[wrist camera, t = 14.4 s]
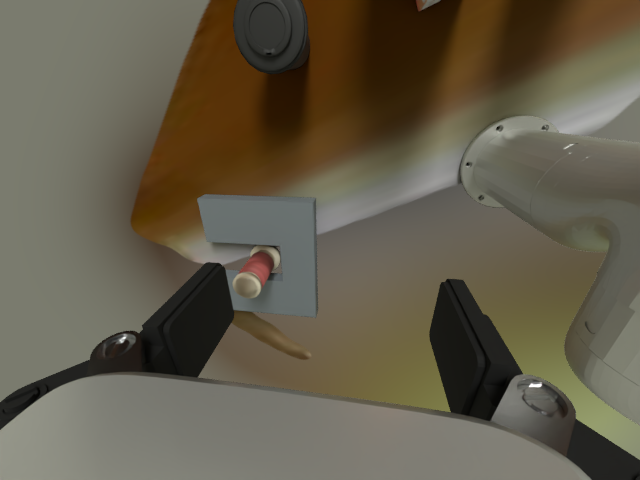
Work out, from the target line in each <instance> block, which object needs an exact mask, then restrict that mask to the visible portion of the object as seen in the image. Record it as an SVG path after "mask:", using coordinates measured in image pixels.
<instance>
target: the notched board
mask: <svg viewBox="0 0 640 480" xmlns="http://www.w3.org/2000/svg"><path fill="white" fill-rule="evenodd" d="M197 200H198V204H199V209H200V213H201V218H202V222H203V226H204V231H205V235H206V240H207V242H221V243H238V244H255V245H273V246H280V255H281V266H282V274H277V273H271V274H270V275H269V277H268V279H267V281H266V282H265V284H264V286H263V288H262V289H261V291H260V293H259V295H258V296H257V297H255V298H244V297H242V296H240V295H238V294H237V293H236V292H235V290H234V288H233V280H234V278H235V277H236V276H237V275H238V273H239V272H240V271H236V270H226V275H227V280H228V285H229V290H230V295H231V300H232V305H233V310H240V311H251V312H261V313H272V314H283V315H294V316H305V317H315V318H316V316H317V311H318V293H317V292H318V288H317V241H316V198H302V197H271V196H239V195H208V194H205V195H203V196H201V197H199V198H197Z"/></svg>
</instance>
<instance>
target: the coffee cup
mask: <svg viewBox="0 0 640 480" xmlns="http://www.w3.org/2000/svg"><path fill="white" fill-rule="evenodd" d="M233 27H234V34H235V40H236V43H237V45H238V47H239V50H240V52H241V54H242V55H243V57H244V58H245V59H246V61H247V62H248V63H249V64H250V65H251V66H253V67H254V68H255V69H257V70H258V71H261V72H264V73H267V74H278V73H282V72H284V71H286V70H292V69H297V68H299V67H301V66H302V65H303V64H304V63H305V62H306V60H307V58H308V56H309V51H310V40H309V37H308V25H307V15H306V12H305V9H304V6H303V3H302V1H301V0H238V2H237V5H236V8H235V11H234V23H233Z"/></svg>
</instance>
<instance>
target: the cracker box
mask: <svg viewBox="0 0 640 480" xmlns="http://www.w3.org/2000/svg"><path fill="white" fill-rule="evenodd" d="M439 1H441V0H416V4H417V8H418V11H421V10H423V9H425V8H427V7H429V6H431V5H433V4H435V3H437V2H439Z"/></svg>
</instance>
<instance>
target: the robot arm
mask: <svg viewBox="0 0 640 480" xmlns="http://www.w3.org/2000/svg"><path fill="white" fill-rule="evenodd" d="M497 126H498V129H497V130H496V128H497ZM542 127H543V129H542V130H541V128H542ZM467 162H469V164H468V165H466V163H467ZM460 176H461V182H462V185H463V187H464V189H465V191H466V192H467V193H468V195H469V196H470V197H472V198H473V199H474V200H475V201H477V202H478V203H480V204H483V205H485V206H489V207H493V208H507V209H508V210H510V211H511V212H513V213H514V214H516V215H517V216H518V217H520V218H521V219H522V220H524V221H525V222H527V223H528V224H530V225H531V226H533V227H534V228H535V229H537V230H538V231H540V232H541V233H543V234H544V235H546V236H547V237H549V238H551V239H552V240H553V241H555V242H557V243H559V244H561V245H563V246H566V247H568V248H572V249H576V250H582V251H589V252H607V254H606V256H605V258H604V260H603V262H602V264H601V266H600V268H599V270H598V272H597V277H596V279H595V281H594V282H593V284H592V286H591V288H590V290H589V292H588V294H587V295H586V297H585V299H584V301H583V303H582V305H581V307H580V308H579V310H578V312H577V314H576V316H575V317H574V319H573V321H572V323H571V325H570V327H569V330H568V332H567V335H566V339H565V345H564V348H565V355H566V359H567V361H568V363H569V366H570V367H571V369H572V371H573V372H574V374H575V375H576V376H577V377H578V379H579V380H580V381H581V382H582V383H583V384H584V385H585V386H586V387H587V388H588V389H589V390H590V391H591V392H592V393H594V394H595V395H596V396H597V397H598V398H600V399H601V400H602V401H604V402H605V403H606V404H608V405H609V406H610V407H612V408H613V409H615V410H616V411H618V412H619V413H621V414H622V415H624V416H625V417H627V418H629V419H630V420H632V421H633V422H635V423H637V424H638V425H640V143H638V142H629V141H621V140H620V141H619V140H611V139H603V138H594V137H587V136H579V135H571V134H563V133H559V131H558V130H557V129H556V128H555V127H554V125H553V124H551V123H550V122H548V121H547V120H545V119H542V118H539V117H536V116H513V117H508V118H505V119H502V120H500V121H497V122H495V123H493V124H492V125H490V126H488V127H487V128H486V129H484V130H483V131H482V132H480V133H479V134H478V135H477V136H476V137H475V139H474V140H473V141H472V142H471V144H470V145H469V146H468V148H467V150H466V152H465V154H464V156H463V159H462V163H461V169H460ZM480 195H481V196H480ZM479 196H480V197H479ZM233 318H234V310H233V305H232V300H231V295H230V290H229V285H228V280H227V275H226V270H225V268H224V267H222V265H221V264H220V263H210V262H207V263H205V264H204V265H203V266H202V267H201V269H199V270H198V271H197V272H196V273H195V274H194V275H193V276H192V277H191V278H190V279H189V280H188V281H187V282H186V283H185V284H184V285H183V286H182V287H181V288H180V289H179V290H178V291H177V292H176V293H175V294H174V295H173V296H172V297H171V298H170V299H169V300H168V301H167V302H166V303H165V304H164V305H163V306H162V307H161V308H159V309H158V311H157V312H155V313H154V314H153V315H152V316H151V317H150V319H148V320H147V321H146V322H145V323H144V324H143V325H142V327H143V330H142V331H141V332H140V333H138V332H136V331H123V332H120V333H116V334H114V335H112V336H110V337H108V338H106V339H104V340H103V341H102V342H100V343H99V344H98V345H97V346H96V347H95V348H94V349H93V351H92V353H91V355H90V360H88V361H85V362H83V363H81V364H78V365H75V366H73V367H71V368H68V369H66V370H63V371H61V372H58V373H56V374H53V375H51V376H48V377H46V378H44V379H41V380H39V381H36V382H34V383H31V384H29V385H27V386H25V387H22V388H21V389H18V390H17V391H15V392H13V393H12V394H10V395H9V396H8V397H6V398H5V399H4V400H3V401H1V402H0V480H640V460H639V459H637V458H635V457H634V456H632V455H631V454H629V453H628V452H626V451H625V450H623V449H621V448H620V447H619V446H617V445H615V444H614V443H612V442H611V441H609V440H608V439H606V438H605V437H603V436H602V435H600V434H598V433H597V432H595V431H594V430H592V429H591V428H589V427H587V426H586V425H585V424H583V423H581V422H580V421H578V420H577V419H576V411H575V408H574V406H573V404H572V403H571V401H570V400H569V399H568V397H567V396H566V395H565V394H564V393H563V392H562V391H561V390H559V389H558V388H557V387H556V386H554V385H553V384H551V383H550V382H548V381H546V380H544V379H541V378H539V377H536V376H532V375H524V374H523V373H522V371H521V369H520V368H519V366H518V364H517V363H516V361H515V359H514V358H513V356H512V354H511V353H510V351H509V349H508V348H507V346H506V345H505V343H504V341H503V340H502V338H501V336H500V335H499V333H498V331H497V330H496V328H495V326H494V325H493V323H492V321H491V320H490V318H489V317H488V316H487V315H483V313H482V311H481V310H480V308H479V306H478V305H477V303H476V301H475V299H474V298H473V296H472V294H471V293H470V291H469V289H468V288H467V286H466V284H465V282H464V281H463V280H457V279H447V280H446V282H442V283H441V285H440V289H439V293H438V297H437V302H436V306H435V310H434V315H433V319H432V323H431V328H430V342H431V345H432V349H433V352H434V356H435V359H436V362H437V366H438V369H439V373H440V376H441V380H442V383H443V387H444V390H445V394H446V397H447V400H448V404H449V407H450V411H451V412H445V411H439V410H432V409H426V408H419V407H412V406H406V405H400V404H393V403H386V402H378V401H371V400H364V399H357V398H349V397H342V396H335V395H328V394H320V393H313V392H305V391H297V390H290V389H283V388H275V387H267V386H260V385H252V384H244V383H236V382H228V381H220V380H212V379H204V378H197V377H198V376H199V374H200V372H201V371H202V369H203V368H204V366H205V364H206V363H207V361H208V359H209V358H210V356H211V355H212V353H213V351H214V350H215V348H216V346H217V345H218V343H219V342H220V340H221V338H222V337H223V335H224V333H225V332H226V330H227V329H228V327H229V325H230V324H231V322H232V320H233Z"/></svg>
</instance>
